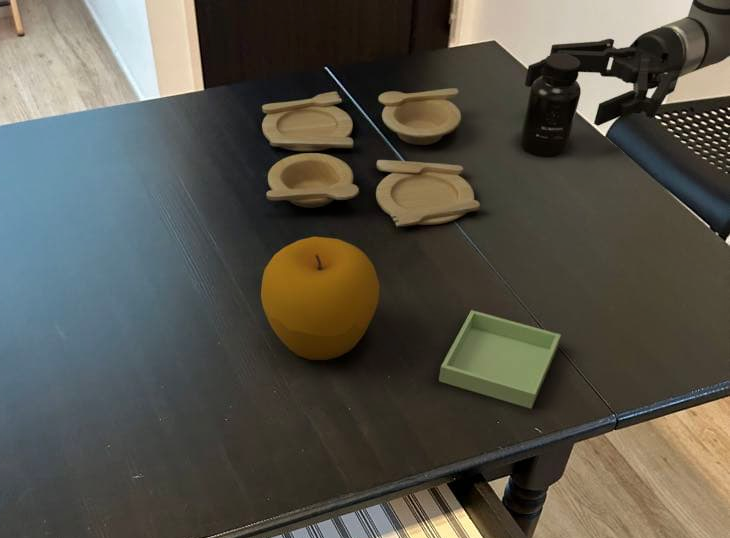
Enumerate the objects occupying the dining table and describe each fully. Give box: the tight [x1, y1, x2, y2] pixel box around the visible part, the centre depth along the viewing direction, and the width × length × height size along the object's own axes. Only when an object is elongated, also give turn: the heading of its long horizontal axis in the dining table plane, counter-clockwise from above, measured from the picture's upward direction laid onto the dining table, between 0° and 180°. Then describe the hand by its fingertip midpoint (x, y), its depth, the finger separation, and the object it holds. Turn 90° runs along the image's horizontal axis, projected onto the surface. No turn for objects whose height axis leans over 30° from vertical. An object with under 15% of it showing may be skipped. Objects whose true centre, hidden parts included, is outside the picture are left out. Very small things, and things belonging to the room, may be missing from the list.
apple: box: [260, 236, 381, 361], centre depth 90 cm, size 13×13×11 cm
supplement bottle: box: [519, 54, 582, 158], centre depth 115 cm, size 7×7×12 cm
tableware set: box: [261, 87, 481, 228], centre depth 116 cm, size 35×29×4 cm
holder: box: [438, 309, 562, 410], centre depth 91 cm, size 10×10×2 cm
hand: (562, 95), depth 115 cm, fingers open, 13 cm apart
